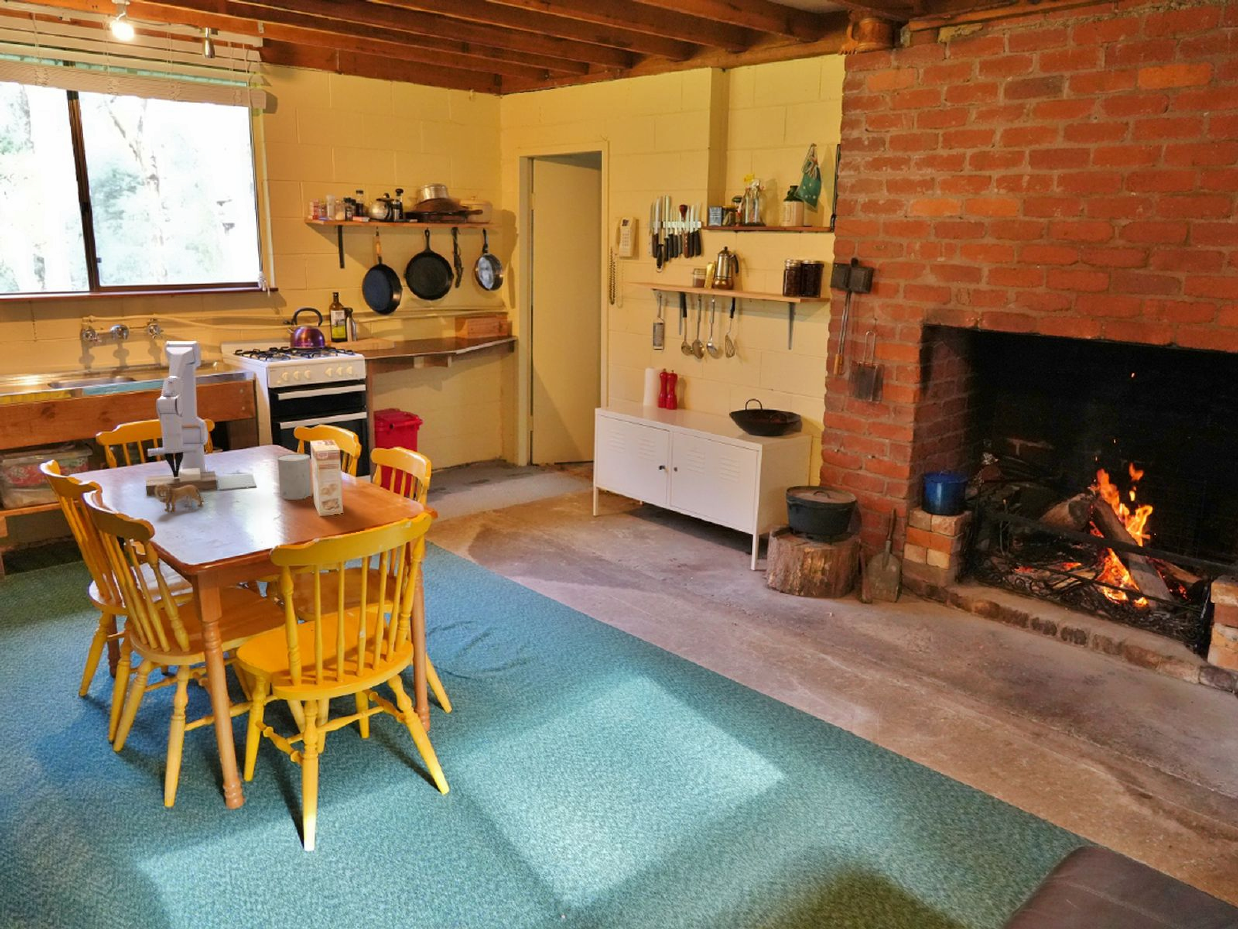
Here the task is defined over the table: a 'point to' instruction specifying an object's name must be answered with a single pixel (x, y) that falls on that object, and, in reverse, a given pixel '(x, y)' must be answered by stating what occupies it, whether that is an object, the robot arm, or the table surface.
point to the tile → (189, 474)
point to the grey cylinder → (294, 476)
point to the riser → (182, 482)
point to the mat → (235, 482)
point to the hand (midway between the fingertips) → (176, 476)
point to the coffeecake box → (326, 477)
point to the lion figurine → (176, 495)
